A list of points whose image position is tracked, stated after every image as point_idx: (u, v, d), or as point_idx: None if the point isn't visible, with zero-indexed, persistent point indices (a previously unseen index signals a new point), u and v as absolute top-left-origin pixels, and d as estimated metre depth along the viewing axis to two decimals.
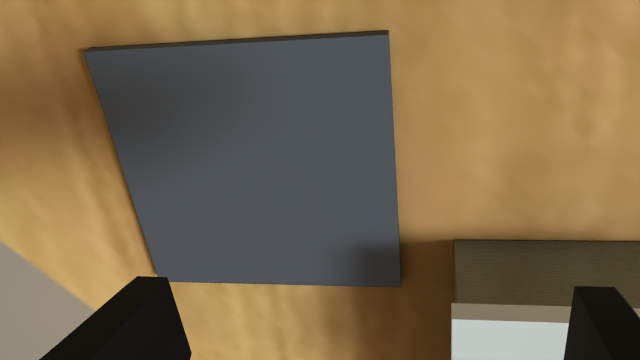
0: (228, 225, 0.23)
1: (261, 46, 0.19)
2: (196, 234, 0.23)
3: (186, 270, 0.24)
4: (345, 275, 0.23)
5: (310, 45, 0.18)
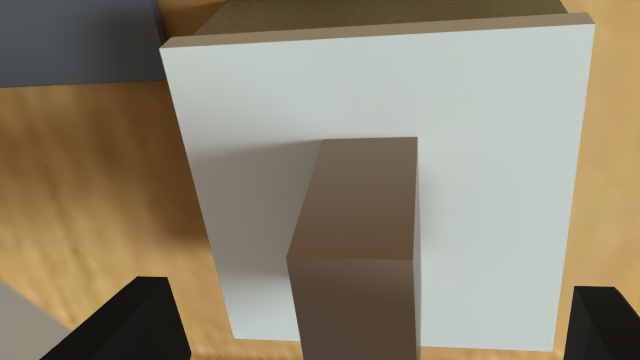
0: None
1: None
2: None
3: None
4: (96, 65, 0.17)
5: None
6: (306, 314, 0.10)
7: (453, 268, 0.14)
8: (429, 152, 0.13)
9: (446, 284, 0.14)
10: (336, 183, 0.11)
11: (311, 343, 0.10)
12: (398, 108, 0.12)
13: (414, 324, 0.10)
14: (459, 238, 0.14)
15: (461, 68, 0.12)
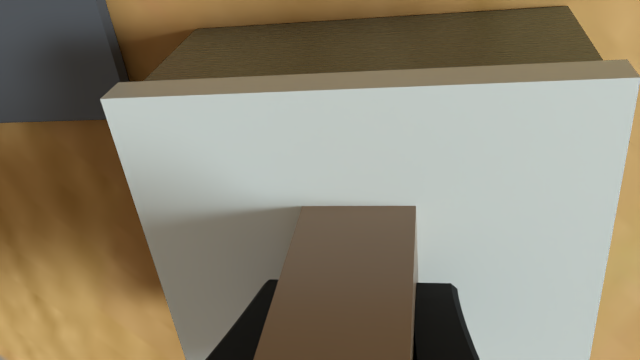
0: None
1: None
2: None
3: None
4: (46, 102, 0.15)
5: None
6: None
7: None
8: (430, 223, 0.10)
9: None
10: (315, 272, 0.09)
11: None
12: (392, 173, 0.10)
13: None
14: (466, 319, 0.11)
15: (469, 128, 0.09)
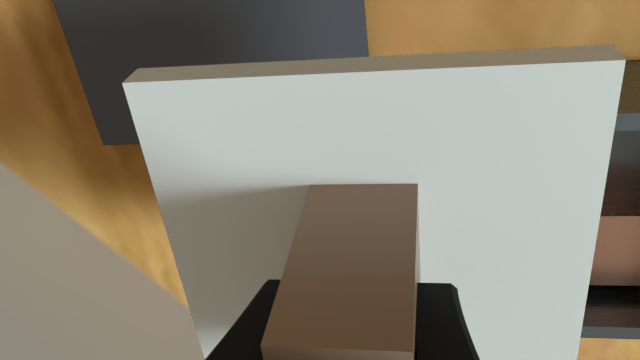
0: (174, 64, 0.20)
1: None
2: None
3: (132, 128, 0.21)
4: None
5: None
6: None
7: None
8: (431, 200, 0.11)
9: None
10: (324, 242, 0.10)
11: None
12: (395, 152, 0.11)
13: None
14: (464, 293, 0.12)
15: (467, 109, 0.10)
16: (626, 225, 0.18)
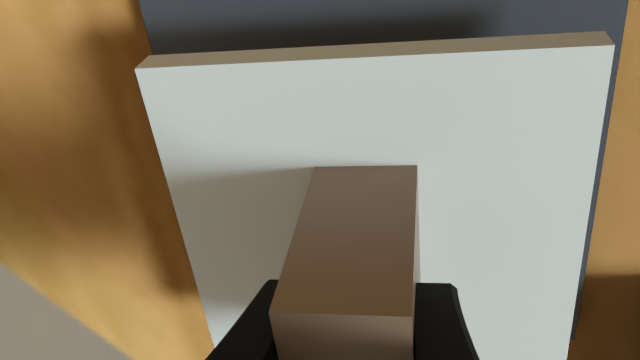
0: None
1: None
2: None
3: None
4: None
5: None
6: None
7: None
8: (430, 181, 0.12)
9: None
10: (328, 219, 0.10)
11: None
12: (396, 134, 0.11)
13: None
14: (462, 272, 0.13)
15: (465, 93, 0.10)
16: None
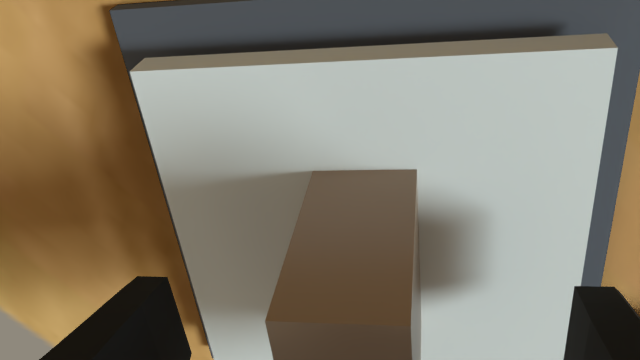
0: None
1: None
2: None
3: None
4: None
5: None
6: None
7: (456, 308, 0.13)
8: (429, 186, 0.11)
9: (448, 325, 0.13)
10: (326, 225, 0.10)
11: None
12: (395, 138, 0.11)
13: None
14: (462, 277, 0.12)
15: (464, 96, 0.10)
16: None
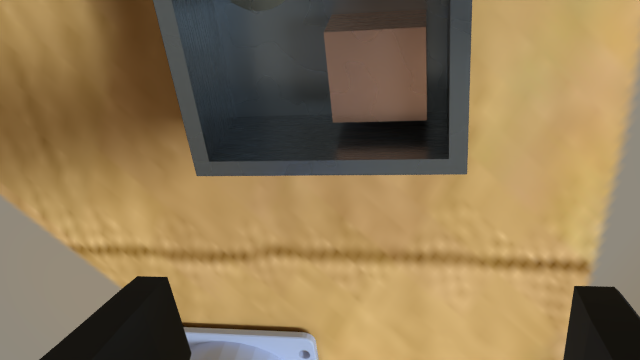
0: None
1: None
2: None
3: None
4: None
5: None
6: None
7: None
8: None
9: None
10: None
11: None
12: None
13: None
14: None
15: None
16: (384, 41, 0.16)
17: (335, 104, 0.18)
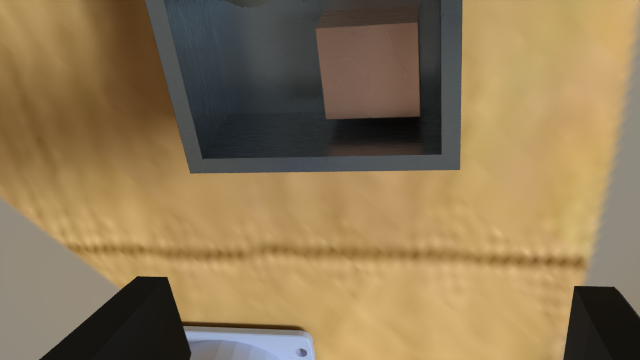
0: None
1: None
2: None
3: None
4: None
5: None
6: None
7: None
8: None
9: None
10: None
11: None
12: None
13: None
14: None
15: None
16: (376, 37, 0.16)
17: (328, 101, 0.18)
